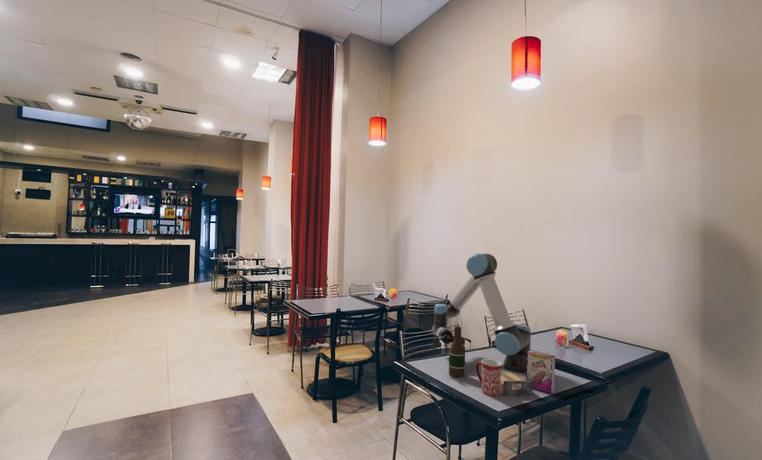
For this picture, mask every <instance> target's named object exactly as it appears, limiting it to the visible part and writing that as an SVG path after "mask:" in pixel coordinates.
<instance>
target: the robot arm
mask: <svg viewBox="0 0 762 460" xmlns="http://www.w3.org/2000/svg"><path fill="white" fill-rule="evenodd" d="M465 265H466V270H467V272H468V273H469V274H470V275H471V276H470V277H469V278H468V279H467V281H466V282H465V283H464V285H463V286H462V287H461V288H460V290H459V291H458V292H457V293H456V294H455V296H454V297H453V299H452V300H451V301H450V302H449V304H446V303H445V304H444V303H436V304H435V305H434V310H433V312H434V313H433V316H434V317H433V318H434V319H433V321H434V322H433V326H432V329H431V330H432V332H433V335H434V336H435V337H434V339H433V343H432V345H434V346H435V345H436V347H440V348H441V349H442V350H445V347H446V346H445V345H449V344H452V343H453V340H454V333H452V331H451V330H449V328H448V320H449V319H454V318H457V317H458V316H459V315H460V314H461V310H462V309H463V308H464V306H465V305H466V304H467V303H468V302H469V300H470V299H471V298H472V297H473V295H474V294H475V293H476V292H477V291H478V289H479V288H480V291H481V292H482V295H483V298H484V301H485V303H486V306H487V309H488V312H489V313H490V315H491V320H492V323H493V324H494V329H493V333H494V335H495V338H494V345H495V348H496V350H498V351H499V352H500V353H501V354H503V355H505V358H504V360H503V367H504V368H506V370H507V369H508V370H510V371H514V372H518V373H527V352H528V351H530V350H531V346H532V345H531V344H532V343H531V342H532V341H531V339H532V338H531V336H532V332H531V327H530V326H528V325H525V324H524V325H523V324H518V323H515V322H513V321H512V320H511V318H510V314H509V312H508V310H507V307H506V304H505V302H504V300H503V296H502V295H501V291H500V289H499V286H498V285H497V282H496V280H495V277H496V276H497V275H496V271H497V267H498V261H497V259H496V257H495V256H493V255H492V254H490V253H474V254H472V255H471V256H469V257H468V259H467V260H466V264H465ZM461 341H462V345H463V346H464V347H466V348H467V349H469V350H471V349H472V348H471V347H472V340H471V339H469V338H466V337H463V336H461Z"/></svg>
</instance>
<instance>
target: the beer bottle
mask: <svg viewBox="0 0 762 460" xmlns="http://www.w3.org/2000/svg"><path fill="white" fill-rule="evenodd" d="M453 330H454V332H453V336H454V340H453V343H451V345H450V346H449V351H448V352H449V354H448V355H449V356H448V357H449V358H448V374H449V376H450V377H453V378H463V377H465V372H466V371H465V370H466V369H465V367H466V366H465V365H466V349H465V345H464V344H462V341H461V337H462V327H461V326H457V325H456V326H454V327H453Z"/></svg>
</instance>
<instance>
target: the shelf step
mask: <svg viewBox="0 0 762 460" xmlns="http://www.w3.org/2000/svg"><path fill="white" fill-rule="evenodd" d="M532 385H533V381H527V380H525V379H524V378H523V377H521V376H520V375H519V374H517V373H516V372H501V377H500V388H499V393H501V394H502V395H503V396H533V388H532Z"/></svg>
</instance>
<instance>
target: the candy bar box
mask: <svg viewBox="0 0 762 460" xmlns="http://www.w3.org/2000/svg"><path fill="white" fill-rule="evenodd" d="M555 371H556V355H554V354H550V353H546V352H542V351H537V350H532V349H530V351H528V352H527V372H526V381H533V385H532V390H533V389H534V390H536V391H537V390H538V391H541V392H545V393H547V394H551V395H552V394H553V393H554V392H555V380H556V379H555V375H556V374H555V373H556V372H555Z"/></svg>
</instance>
